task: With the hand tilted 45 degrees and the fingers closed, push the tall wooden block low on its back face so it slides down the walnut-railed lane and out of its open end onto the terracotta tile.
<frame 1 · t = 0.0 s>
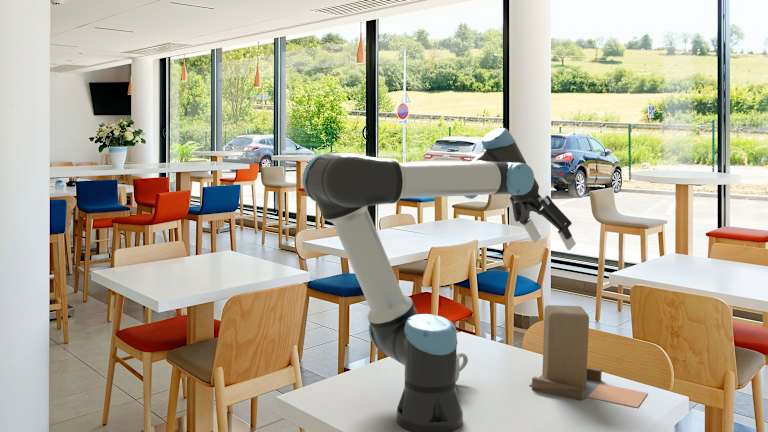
hand: (554, 243, 182), 36 cm above the table, tool tilted 35°, fingers open, 13 cm apart
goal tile: (617, 395, 168), on the table
lane rails: (567, 384, 175), on the table
teacup: (444, 385, 175), on the table
runner: (565, 384, 175), on the table
wooden block: (563, 384, 176), resting on runner
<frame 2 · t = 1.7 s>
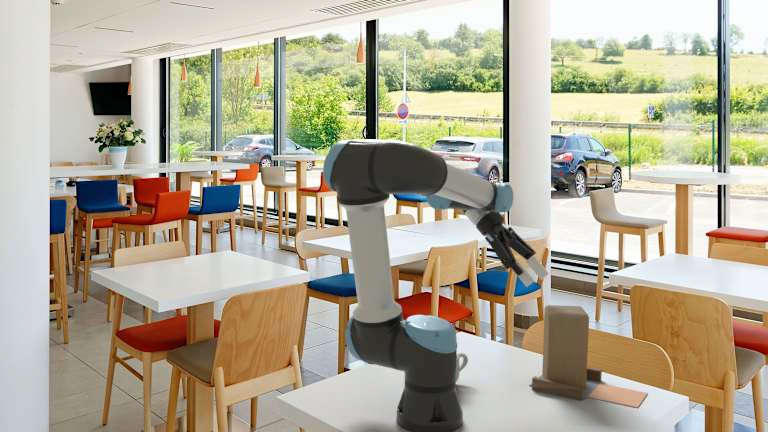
hand: (538, 280, 177), 27 cm above the table, tool tilted 45°, fingers open, 10 cm apart
nothing on the table moved.
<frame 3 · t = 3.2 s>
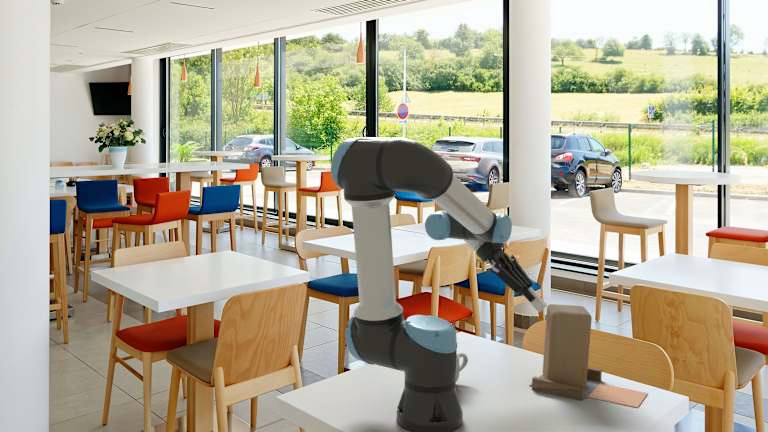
hand: (543, 308, 178), 19 cm above the table, tool tilted 45°, fingers closed
wooden block: (563, 383, 175), resting on runner, touching gripper
everything else where it was.
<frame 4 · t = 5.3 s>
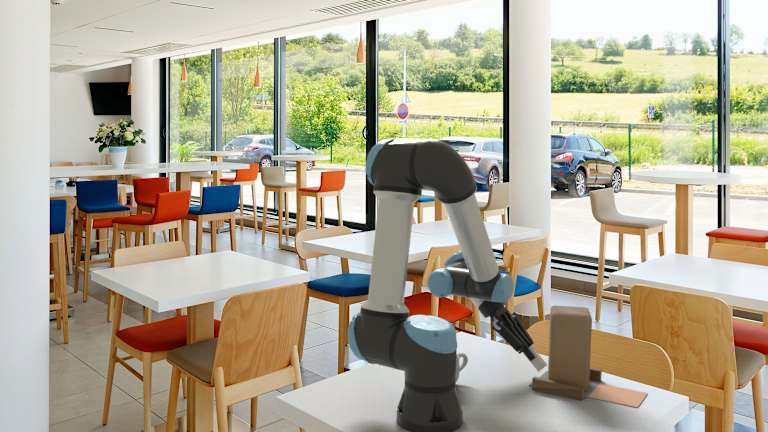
hand: (542, 368, 178), 3 cm above the table, tool tilted 45°, fingers closed
wooden block: (567, 385, 175), resting on runner, touching gripper
everything else where it was.
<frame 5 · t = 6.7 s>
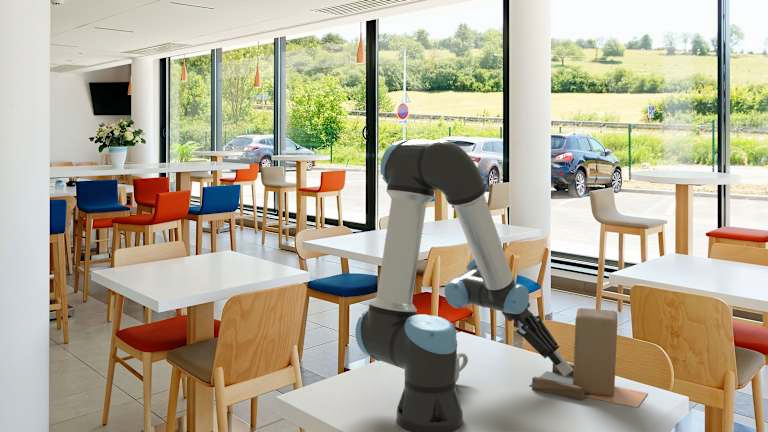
hand: (568, 373, 175), 3 cm above the table, tool tilted 45°, fingers closed
wooden block: (593, 389, 172), resting on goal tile, touching gripper
everything else where it was.
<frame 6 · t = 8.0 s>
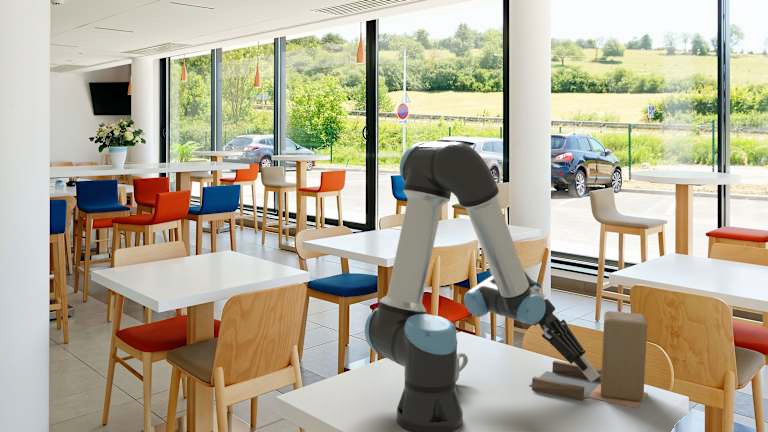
hand: (595, 378, 171), 3 cm above the table, tool tilted 45°, fingers closed
wooden block: (621, 393, 169), resting on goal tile, touching gripper
everything else where it was.
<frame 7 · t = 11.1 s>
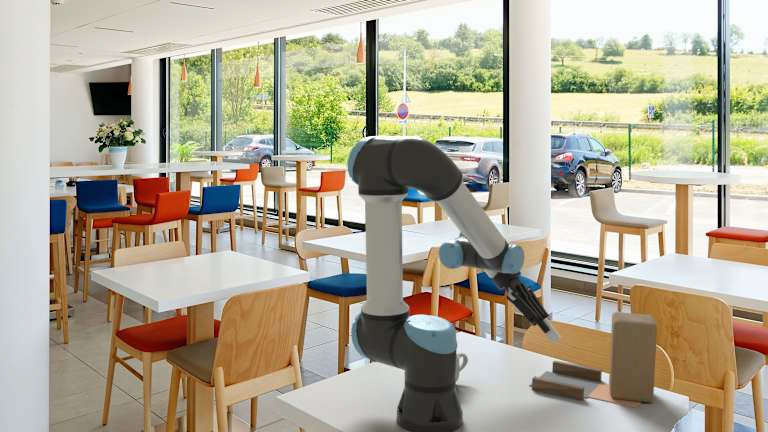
hand: (557, 341, 175), 12 cm above the table, tool tilted 45°, fingers closed
wooden block: (630, 395, 168), resting on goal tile
everything else where it was.
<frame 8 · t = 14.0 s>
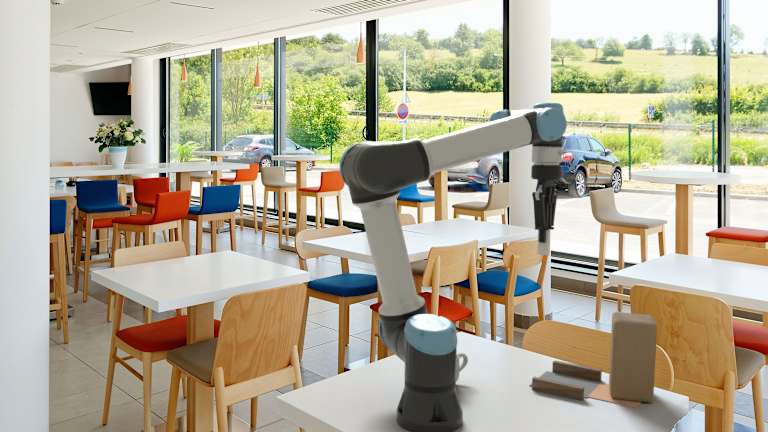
hand: (543, 254, 173), 34 cm above the table, tool pointing down, fingers closed
nothing on the table moved.
at the end: wooden block inside the target area on the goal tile (3.1 cm from its centre), point 0.0 cm above the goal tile's base; wooden block tilted 0°; wooden block moved 16.7 cm from its start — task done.
